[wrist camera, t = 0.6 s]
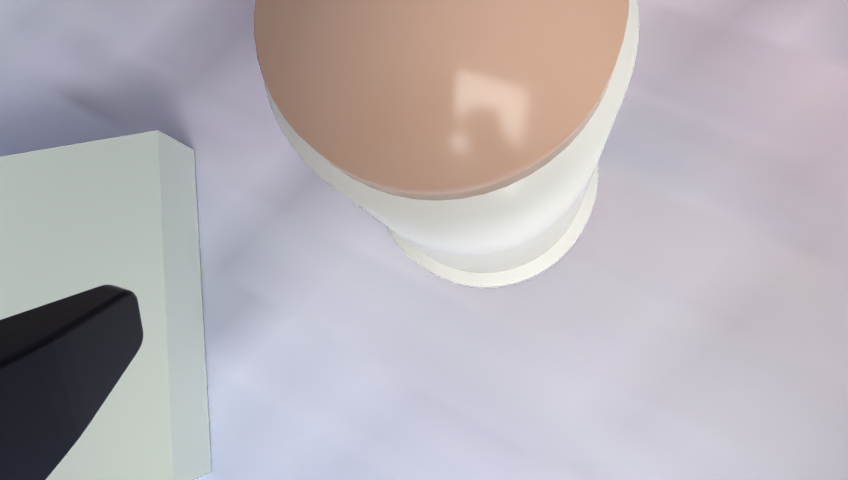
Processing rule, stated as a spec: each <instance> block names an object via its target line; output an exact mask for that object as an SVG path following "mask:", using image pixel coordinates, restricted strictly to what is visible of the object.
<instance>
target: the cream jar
mask: <svg viewBox="0 0 848 480" xmlns="http://www.w3.org/2000/svg"><path fill="white" fill-rule="evenodd" d="M254 36H255V43H256V50H257V57H258V61H259V65H260V68H261V72H262V75H263V79H264V82H265V87H266V91H267V94H268V98H269V101H270V105H271V108H272V110H273V112H274V115H275V117H276V119H277V122H278V124H279V126H280V128H281V130H282V131H283V133H284V135H285V136H286V138H287V140H288V141H289V143H290V144H291V146H292V147H293V149H294V150H295V151H296V152H297V153H298V155H299V156H300V157H301V158H302V160H303V161H304V162H305V163H306V164H307V165H308V166H309V167H310V168H311V169H312V170H313V171H314V172H315V173H317V174H318V175H319V176H320V177H321V178H322V179H323V180H324V181H326V182H327V183H328V184H330V185H331V186H332V187H334V188H335V189H337V190H338V191H339V192H341V193H342V194H343V195H345V196H346V197H348V198H349V199H350V200H352V201H353V202H354V203H356V204H357V205H358V206H360V207H361V208H363V209H364V210H365V211H367V212H368V213H369V214H371V215H372V216H374V217H375V218H376V219H378V220H379V221H380V222H382V223H383V224H384V225H386V226H387V228H388V230H389V232H390V234H391V235H392V237H393V238H394V240H395V241H396V243H397V244H398V245H399V246H400V247H401V249H402V250H403V251H404V252H405V253H406V254H407V255H408V256H409V257H410V258H411V259H413V260H414V261H415V262H416V263H418V264H419V265H420V266H422V267H423V268H425V269H426V270H428V271H429V272H431V273H433V274H435V275H437V276H439V277H441V278H443V279H445V280H447V281H450V282H453V283H455V284H458V285H463V286H467V287H473V288H501V287H507V286H512V285H516V284H519V283H522V282H525V281H528V280H530V279H532V278H534V277H536V276H538V275H540V274H542V273H543V272H545V271H546V270H548V269H549V268H551V267H552V266H554V265H555V264H556V263H557V262H558V261H559V260H561V259H562V258H563V257H564V256H565V254H566V253H567V252H568V251H569V250H570V249H571V248H572V246H573V245H574V243H575V242H576V241H577V239H578V238H579V236H580V234H581V232H582V231H583V229H584V227H585V225H586V223H587V221H588V219H589V217H590V214H591V211H592V208H593V205H594V202H595V198H596V193H597V187H598V160H599V158H600V155H601V153H602V150H603V148H604V146H605V143H606V141H607V138H608V136H609V133H610V131H611V128H612V126H613V123H614V121H615V118H616V116H617V113H618V111H619V108H620V106H621V103H622V101H623V98H624V96H625V93H626V90H627V87H628V84H629V81H630V78H631V76H632V73H633V70H634V64H635V59H636V54H637V49H638V38H639V12H638V1H637V0H256V4H255V12H254Z"/></svg>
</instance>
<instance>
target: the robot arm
mask: <svg viewBox="0 0 848 480" xmlns="http://www.w3.org/2000/svg"><path fill="white" fill-rule="evenodd" d="M143 335H144V334H143V327H142V321H141V315H140V310H139V304H138V299H137V296H136V295H135V294H134V292H132V291H131V290H127V289H124V288H121V287H118V286H115V285H109V284H107V285H102V286H98V287H95V288H93V289H90V290H87V291H84V292H81V293H78V294H75V295H72V296H69V297H66V298H63V299H60V300H57V301H54V302H51V303H48V304H45V305H42V306H39V307H36V308H34V309H31V310H28V311H25V312H22V313H19V314H16V315H13V316H10V317H7V318H4V319H1V320H0V480H46V479H47V477H48V476H49V475H50V474H51V473H52V471H53V470H54V469H55V468H56V467H57V465H58V464H59V463H60V462H61V460H62V459H63V458H64V457H65V456H66V454H67V453H68V452H69V451H70V449H71V448H72V447H73V446H74V444H75V443H76V442H77V440H78V439H79V438H80V437H81V435H82V434H83V432H84V431H85V430H86V428H87V427H88V425H89V424H90V423H91V421H92V420H93V418H94V417H95V415H96V414H97V412H98V411H99V409H100V408H101V406H102V405H103V403H104V402H105V400H106V399H107V397H108V396H109V394H110V393H111V391H112V390H113V388H114V387H115V385H116V384H117V382H118V381H119V379H120V378H121V376H122V375H123V373H124V372H125V370H126V369H127V367H128V366H129V364H130V363H131V361H132V360H133V358H134V357H135V355H136V354H137V352H138V351H139V349H140V347H141V345H142V341H143Z"/></svg>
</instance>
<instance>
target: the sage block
mask: <svg viewBox="0 0 848 480" xmlns="http://www.w3.org/2000/svg"><path fill="white" fill-rule="evenodd" d="M107 284H109V285H115V286H118V287H121V288H124V289H127V290H131V291H132V292H134V294H135V295H136V296H137V299H138V304H139V310H140V315H141V321H142V327H143V334H144V335H143V341H142V345H141V347H140V349H139V351H138V352H137V354H136V355H135V357H134V358H133V360H132V361H131V363H130V364H129V366H128V367H127V369H126V370H125V372H124V373H123V375H122V376H121V378H120V379H119V381H118V382H117V384H116V385H115V387H114V388H113V390H112V391H111V393H110V394H109V396H108V397H107V399H106V400H105V402H104V403H103V405H102V406H101V408H100V409H99V411H98V412H97V414H96V415H95V417H94V418H93V420H92V421H91V423H90V424H89V425H88V427H87V428H86V430H85V431H84V432H83V434H82V435H81V437H80V438H79V439H78V440H77V442H76V443H75V444H74V446H73V447H72V448H71V449H70V451H69V452H68V453H67V454H66V456H65V457H64V458H63V459H62V460H61V462H60V463H59V464H58V465H57V467H56V468H55V469H54V470H53V471H52V473H51V474H50V475H49V476H48V477H47V479H46V480H194V479H197V478H199V477H201V476H203V475H206V474H208V473H210V472H212V469H211V450H210V432H209V414H208V395H207V377H206V359H205V340H204V322H203V304H202V285H201V267H200V249H199V230H198V212H197V194H196V175H195V157H194V149H192V148H190V147H188V146H186V145H184V144H183V143H181V142H179V141H177V140H175V139H173V138H171V137H170V136H168V135H166V134H164V133H162V132H160V131H158V130H155V131H149V132H143V133H137V134H131V135H125V136H119V137H113V138H107V139H101V140H96V141H90V142H84V143H78V144H72V145H66V146H60V147H54V148H48V149H42V150H36V151H30V152H24V153H18V154H12V155H6V156H0V320H1V319H4V318H7V317H10V316H13V315H16V314H19V313H22V312H25V311H28V310H31V309H34V308H36V307H39V306H42V305H45V304H48V303H51V302H54V301H57V300H60V299H63V298H66V297H69V296H72V295H75V294H78V293H81V292H84V291H87V290H90V289H93V288H95V287H98V286H102V285H107Z"/></svg>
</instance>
